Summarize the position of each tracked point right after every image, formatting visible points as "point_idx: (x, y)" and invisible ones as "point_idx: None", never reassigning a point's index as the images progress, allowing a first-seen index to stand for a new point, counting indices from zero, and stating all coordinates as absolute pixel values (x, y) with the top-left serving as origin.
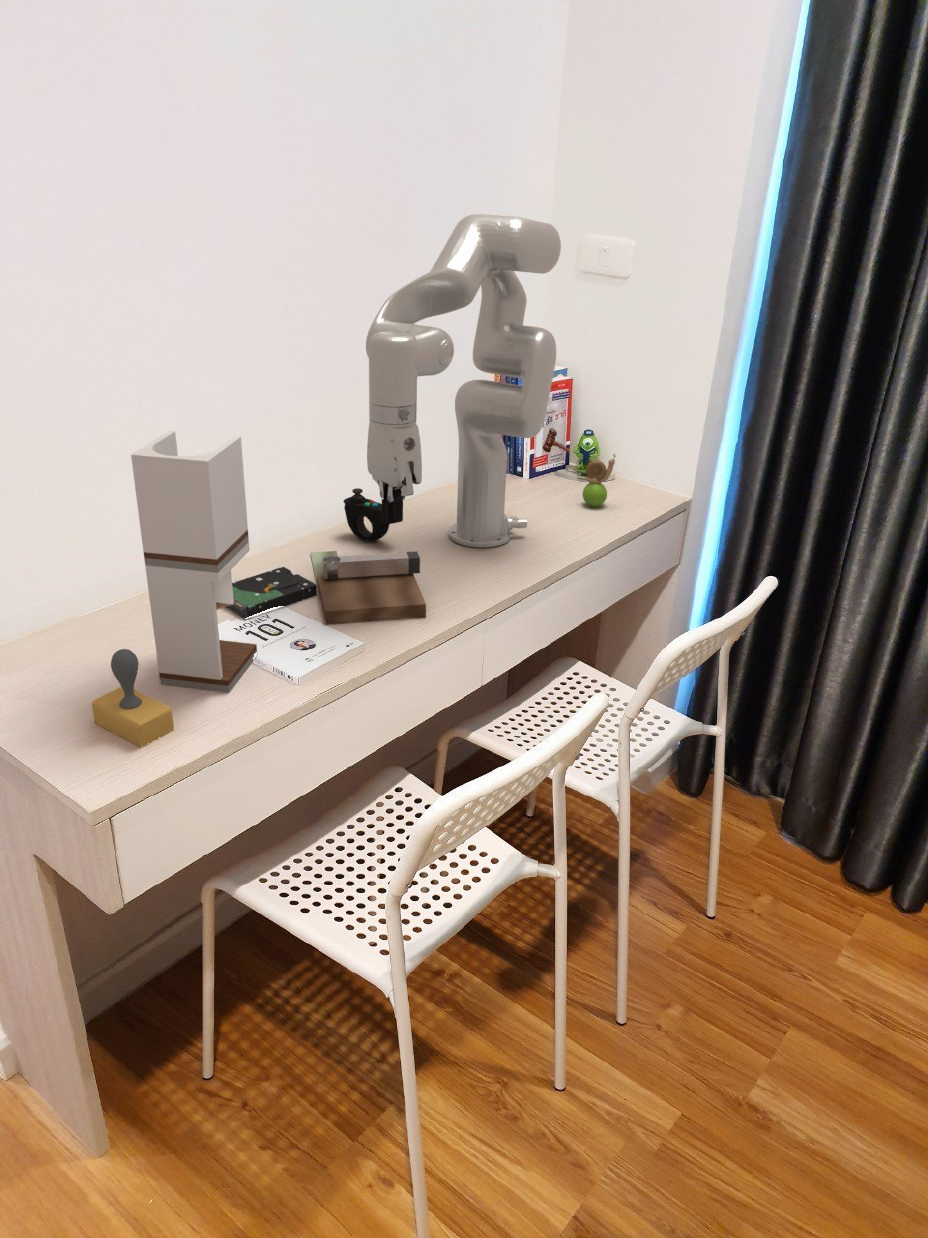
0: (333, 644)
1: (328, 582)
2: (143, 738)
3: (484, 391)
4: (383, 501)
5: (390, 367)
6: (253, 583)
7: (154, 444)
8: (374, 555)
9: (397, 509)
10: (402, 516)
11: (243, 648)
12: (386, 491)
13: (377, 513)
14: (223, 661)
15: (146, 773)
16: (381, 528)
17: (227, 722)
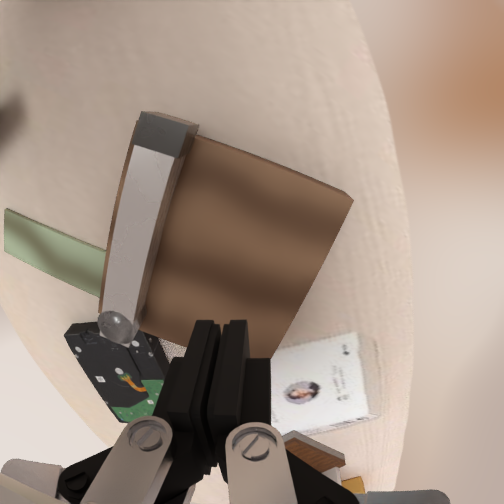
0: (328, 366)
1: (148, 318)
2: (364, 489)
3: None
4: (210, 467)
5: None
6: (113, 390)
7: None
8: (121, 235)
9: (270, 410)
10: (244, 332)
11: (295, 451)
12: (176, 491)
13: None
14: (308, 463)
15: (389, 482)
16: None
17: (382, 457)
